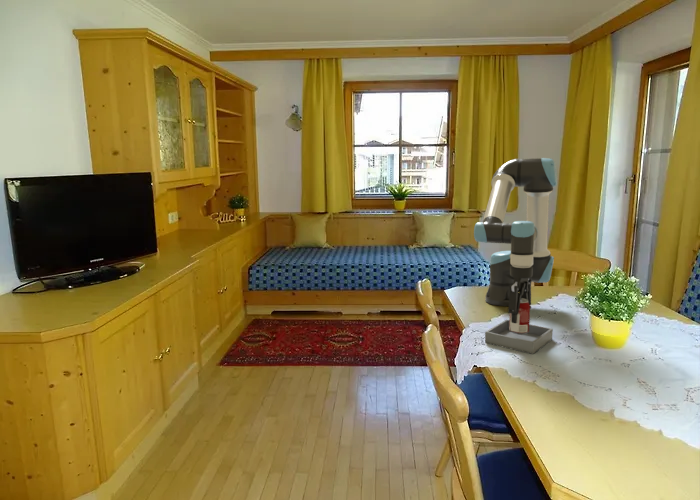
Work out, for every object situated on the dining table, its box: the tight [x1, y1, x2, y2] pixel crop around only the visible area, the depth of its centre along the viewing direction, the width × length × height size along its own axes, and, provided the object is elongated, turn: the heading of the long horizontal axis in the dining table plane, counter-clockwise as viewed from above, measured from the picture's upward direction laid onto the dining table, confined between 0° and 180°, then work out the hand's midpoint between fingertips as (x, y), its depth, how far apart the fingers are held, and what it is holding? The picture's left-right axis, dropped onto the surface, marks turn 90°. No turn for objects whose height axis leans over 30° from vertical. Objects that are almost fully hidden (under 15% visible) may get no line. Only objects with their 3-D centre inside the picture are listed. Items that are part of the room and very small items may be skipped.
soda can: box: [508, 298, 531, 335], centre depth 173 cm, size 7×7×12 cm
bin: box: [484, 319, 554, 355], centre depth 174 cm, size 17×17×4 cm
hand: (519, 328), depth 174 cm, fingers closed on soda can, 7 cm apart
